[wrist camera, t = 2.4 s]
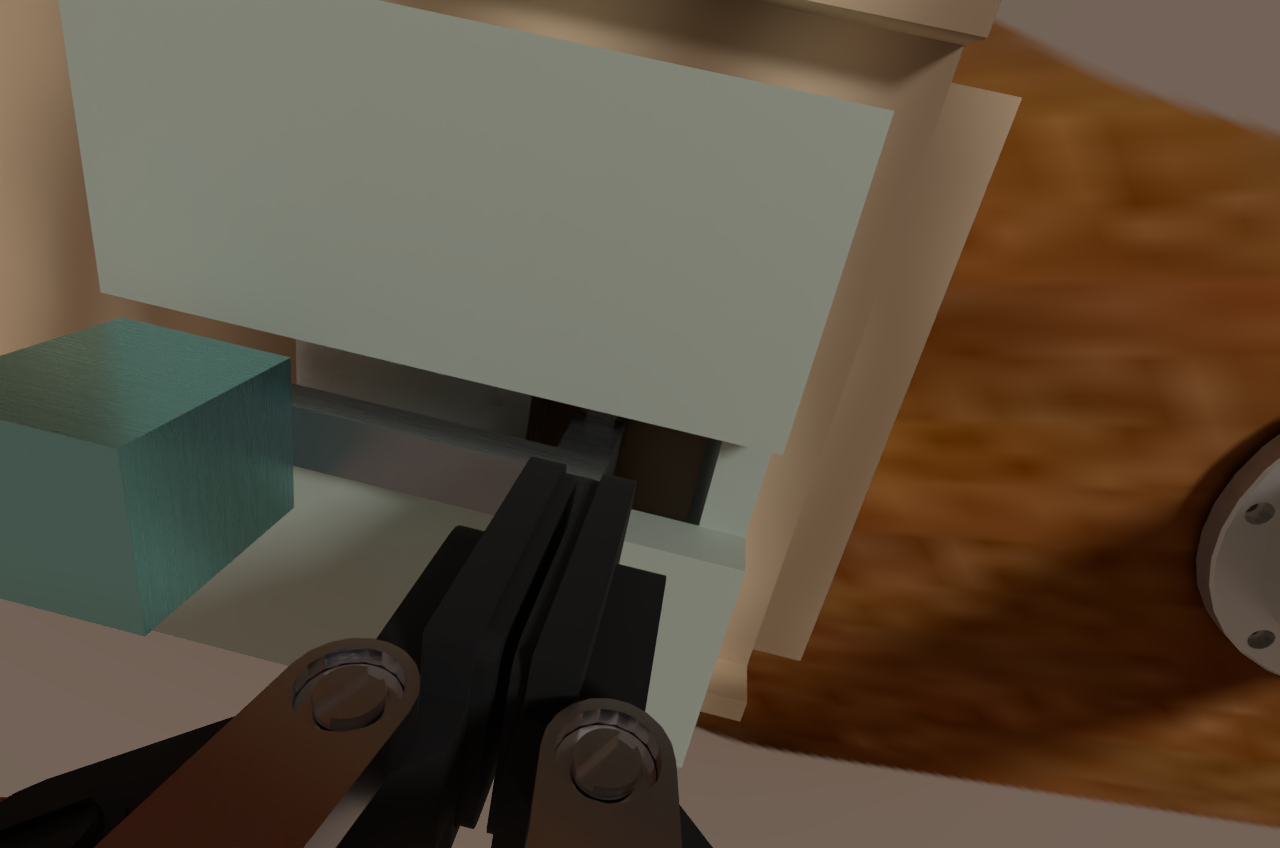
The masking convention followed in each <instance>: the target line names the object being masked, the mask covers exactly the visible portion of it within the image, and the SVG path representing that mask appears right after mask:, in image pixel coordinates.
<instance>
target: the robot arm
mask: <svg viewBox="0 0 1280 848" xmlns="http://www.w3.org/2000/svg"><path fill="white" fill-rule="evenodd" d="M566 468H567V467H566V464H562V463H558V462H554V461H550V460H545V459H541V458H537V457H530V459H529V460H528V462H527V463H526V465H525V467H524V468H523V470H522V471H521V473H520V475H519V476H518V478H517V480H516V481H515V483H514V484H513V486H512V488H511V489H510V491H509V492H508V494H507V496H506V497H505V499H504V501H503V502H502V504H501V505H500V507H499V509H498V510H497V512H496V514H495V515H494V517H493V518H492V520H491V522H490V523H489V525H488V526H487V528H486V530H485V531H482V530H478V529H474V528H470V527H466V526H461V525H458V526H456V527H455V528H454V529H453V530H452V531H451V532H450V534H449V535H448V537H447V538H446V539H445V541H444V542H443V544H442V545H441V547H440V548H439V549H438V551H437V552H436V554H435V555H434V557H433V558H432V559H431V561H430V562H429V564H428V565H427V567H426V568H425V569H424V571H423V572H422V574H421V575H420V577H419V578H418V580H417V581H416V582H415V584H414V585H413V587H412V588H411V590H410V591H409V592H408V594H407V595H406V597H405V598H404V600H403V601H402V602H401V604H400V605H399V607H398V608H397V610H396V611H395V612H394V614H393V615H392V617H391V618H390V620H389V621H388V622H387V624H386V625H385V627H384V628H383V630H382V631H381V633H380V634H379V635H378V637H377V638H376V639H373V638H348V639H343V640H338V641H333V642H329V643H326V644H324V645H322V646H319V647H317V648H315V649H312V650H310V651H308V652H307V653H306V654H304V655H303V656H301V657H300V658H299V659H297V660H296V661H294V662H293V663H292V664H291V665H290V666H289V667H287V668H286V669H285V670H284V671H283V672H282V673H281V674H280V675H279V676H278V677H277V678H276V679H275V680H273V681H272V682H271V683H270V684H269V685H268V686H267V687H266V688H265V689H264V690H263V691H262V692H261V693H260V694H259V695H257V696H256V697H255V698H254V699H253V700H252V701H251V702H250V703H249V704H248V705H247V706H246V707H244V708H243V709H242V710H241V711H240V712H239V713H238V714H237V715H236V716H234V717H231V718H228V719H225V720H222V721H219V722H216V723H213V724H210V725H207V726H204V727H201V728H198V729H195V730H192V731H189V732H186V733H183V734H181V735H178V736H174V737H171V738H168V739H165V740H162V741H159V742H157V743H154V744H151V745H148V746H145V747H142V748H139V749H136V750H133V751H130V752H127V753H124V754H121V755H118V756H115V757H112V758H109V759H106V760H103V761H100V762H97V763H94V764H92V765H88V766H85V767H82V768H79V769H76V770H74V771H70V772H67V773H64V774H61V775H58V776H55V777H52V778H49V779H46V780H44V781H42V782H39V783H37V784H35V785H32V786H30V787H28V788H25V789H23V790H21V791H19V792H16V793H14V794H12V795H11V796H9V797H0V848H451V847H452V844H453V842H454V839H455V837H456V834H457V832H458V829H459V827H460V826H464V827H467V828H471V829H474V828H475V826H476V824H477V822H478V819H479V817H480V814H481V811H482V809H483V806H484V803H485V801H486V798H487V795H488V793H489V790H490V787H491V785H492V782H493V779H494V785H493V792H492V798H491V805H490V811H489V817H488V824H487V833H490V834H493V839H492V846H491V848H713V847H712V846H711V845H710V844H709V842H708V841H707V840H706V838H705V837H704V836H703V835H702V833H701V832H700V831H699V829H698V828H697V827H696V826H695V824H694V823H693V822H692V821H691V819H690V818H689V816H688V815H687V814H686V813H685V811H684V810H683V809H682V807H681V806H680V805H679V795H678V780H677V766H676V759H675V754H674V750H673V746H672V743H671V741H670V739H669V738H668V736H667V734H666V733H665V731H664V729H663V728H662V726H661V725H660V724H659V723H658V722H656V721H655V720H654V719H653V718H652V717H651V716H650V715H649V714H648V713H646V712H645V710H646V704H647V697H648V691H649V685H650V679H651V672H652V666H653V660H654V654H655V647H656V641H657V635H658V628H659V622H660V616H661V610H662V603H663V597H664V591H665V585H666V575H662V574H657V573H653V572H649V571H645V570H641V569H637V568H633V567H629V566H625V565H621V564H619V562H620V557H621V553H622V548H623V544H624V539H625V535H626V531H627V526H628V522H629V517H630V513H631V508H632V504H633V499H634V495H635V490H636V486H637V481H633V480H629V479H625V478H620V477H616V476H612V475H608V474H603V475H602V477H601V480H600V482H597V481H593V480H589V479H587V481H586V483H585V486H584V488H583V490H582V493H581V495H580V498H579V500H578V502H577V505H576V507H575V509H574V512H573V514H572V516H571V513H572V508H573V502H574V497H575V491H576V485H577V476H572V475H568V474H566ZM1196 571H1197V586H1198V589H1199V592H1200V595H1201V598H1202V601H1203V603H1204V606H1205V609H1206V611H1207V612H1208V613H1209V615H1210V616H1211V618H1212V619H1213V621H1214V622H1215V624H1216V625H1217V627H1218V628H1219V630H1220V631H1221V632H1222V633H1223V634H1224V635H1225V636H1226V637H1227V638H1228V639H1229V640H1230V641H1231V642H1232V643H1233V645H1234V646H1235V647H1236V648H1237V649H1238V650H1239V651H1240V652H1241V653H1242V654H1244V655H1245V656H1247V657H1248V658H1250V659H1251V660H1252V661H1254V662H1255V663H1257V664H1258V665H1260V666H1261V667H1263V668H1264V669H1265V670H1267V671H1270V672H1272V673H1274V674H1277V675H1279V676H1280V434H1279V435H1278V436H1276V437H1275V438H1273V439H1272V440H1271V441H1269V442H1268V443H1267V444H1265V445H1264V446H1263V447H1262V448H1261V449H1260V450H1259V451H1258V452H1257V453H1256V454H1255V455H1254V456H1253V457H1252V458H1251V459H1250V460H1249V461H1248V462H1247V463H1246V464H1245V465H1244V466H1243V467H1242V468H1241V469H1240V470H1239V471H1238V472H1237V473H1236V474H1235V475H1234V476H1233V478H1232V479H1231V481H1230V482H1229V483H1228V485H1227V486H1226V487H1225V489H1224V490H1223V492H1222V493H1221V494H1220V496H1219V497H1218V499H1217V500H1216V501H1215V503H1214V505H1213V507H1212V510H1211V512H1210V514H1209V516H1208V518H1207V521H1206V523H1205V525H1204V527H1203V529H1202V532H1201V537H1200V542H1199V546H1198V551H1197V556H1196ZM494 776H495V778H494Z"/></svg>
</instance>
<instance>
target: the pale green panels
mask: <svg viewBox="0 0 1280 848" xmlns="http://www.w3.org/2000/svg"><path fill="white" fill-rule="evenodd" d="M58 1H59V8H60V15H61V22H62V29H63V36H64V43H65V50H66V57H67V64H68V70H69V77H70V84H71V91H72V98H73V105H74V112H75V119H76V126H77V133H78V140H79V147H80V153H81V160H82V167H83V174H84V181H85V188H86V195H87V202H88V209H89V216H90V223H91V230H92V236H93V243H94V250H95V257H96V264H97V271H98V278H99V285H100V292H101V293H105V294H109V295H114V296H118V297H122V298H126V299H130V300H135V301H139V302H143V303H147V304H151V305H156V306H160V307H164V308H168V309H172V310H176V311H181V312H185V313H189V314H193V315H197V316H202V317H206V318H210V319H214V320H218V321H222V322H227V323H231V324H235V325H239V326H243V327H248V328H252V329H256V330H260V331H264V332H269V333H273V334H277V335H281V336H285V337H289V338H294V339H298V340H302V341H306V342H310V343H315V344H319V345H323V346H327V347H331V348H336V349H340V350H344V351H348V352H352V353H356V354H361V355H365V356H369V357H373V358H377V359H382V360H386V361H390V362H394V363H398V364H402V365H407V366H411V367H415V368H419V369H423V370H428V371H432V372H436V373H440V374H444V375H449V376H453V377H457V378H461V379H465V380H469V381H474V382H478V383H482V384H486V385H490V386H495V387H499V388H503V389H507V390H511V391H516V392H520V393H524V394H528V395H532V396H536V397H541V398H545V399H549V400H553V401H557V402H562V403H566V404H570V405H574V406H578V407H582V408H587V409H591V410H595V411H599V412H603V413H608V414H612V415H616V416H620V417H624V418H629V419H633V420H637V421H641V422H645V423H649V424H654V425H658V426H662V427H666V428H670V429H675V430H679V431H683V432H687V433H691V434H696V435H700V436H704V437H708V442H707V446H706V450H705V453H704V457H703V461H702V465H701V468H700V472H699V476H698V480H697V483H696V487H695V491H694V494H693V498H692V502H691V506H690V509H689V513H688V517H687V521H686V523H685V522H681V521H677V520H673V519H669V518H665V517H661V516H657V515H653V514H649V513H645V512H640V511H636V510H632V509H631V513H630V517H629V522H628V526H627V531H626V535H625V539H624V544H623V548H622V553H621V557H620V562H619V564H621V565H625V566H629V567H633V568H637V569H641V570H645V571H649V572H653V573H657V574H662V575H666V585H665V591H664V597H663V603H662V610H661V616H660V622H659V628H658V635H657V641H656V647H655V654H654V660H653V666H652V672H651V679H650V685H649V691H648V697H647V704H646V710H645V712H646V713H648V714H649V715H650V716H651V717H652V718H653V719H654V720H655V721H656V722H658V723H659V724H660V725H661V726H662V728H663V729H664V731H665V733H666V734H667V736H668V738H669V739H670V741H671V743H672V746H673V750H674V754H675V759H676V766H677V767H678V768H682V766H683V763H684V760H685V757H686V754H687V750H688V747H689V744H690V741H691V738H692V735H693V732H694V729H695V726H696V723H697V720H698V716H699V713H700V710H701V707H702V704H703V701H704V698H705V695H706V692H707V689H708V686H709V682H710V679H711V676H712V673H713V670H714V667H715V664H716V661H717V658H718V655H719V652H720V648H721V645H722V642H723V639H724V636H725V633H726V630H727V627H728V624H729V621H730V618H731V614H732V611H733V608H734V605H735V602H736V599H737V596H738V593H739V590H740V587H741V584H742V580H743V577H744V574H745V537H746V534H747V531H748V527H749V524H750V521H751V518H752V515H753V512H754V508H755V505H756V502H757V499H758V496H759V493H760V489H761V486H762V483H763V480H764V477H765V473H766V470H767V467H768V464H769V461H770V458H771V454H772V453H775V454H779V455H783V454H784V451H785V448H786V444H787V441H788V438H789V435H790V432H791V429H792V426H793V423H794V420H795V417H796V414H797V411H798V407H799V404H800V401H801V398H802V395H803V392H804V389H805V386H806V383H807V380H808V377H809V373H810V370H811V367H812V364H813V361H814V358H815V355H816V352H817V349H818V346H819V343H820V339H821V336H822V333H823V330H824V327H825V324H826V321H827V318H828V315H829V312H830V309H831V305H832V302H833V299H834V296H835V293H836V290H837V287H838V284H839V281H840V278H841V275H842V271H843V268H844V265H845V262H846V259H847V256H848V253H849V250H850V247H851V244H852V241H853V237H854V234H855V231H856V228H857V225H858V222H859V219H860V216H861V213H862V210H863V207H864V203H865V200H866V197H867V194H868V191H869V188H870V185H871V182H872V179H873V176H874V173H875V169H876V166H877V163H878V160H879V157H880V154H881V151H882V148H883V145H884V142H885V139H886V135H887V132H888V129H889V126H890V123H891V120H892V117H893V114H894V111H893V110H888V109H883V108H879V107H874V106H869V105H865V104H860V103H855V102H851V101H846V100H841V99H837V98H832V97H827V96H823V95H818V94H813V93H809V92H804V91H799V90H795V89H790V88H785V87H781V86H776V85H771V84H767V83H762V82H757V81H753V80H748V79H743V78H739V77H734V76H729V75H725V74H720V73H715V72H711V71H706V70H701V69H697V68H692V67H687V66H683V65H678V64H673V63H669V62H664V61H659V60H655V59H650V58H645V57H641V56H636V55H631V54H627V53H622V52H617V51H613V50H608V49H603V48H599V47H594V46H589V45H585V44H580V43H576V42H571V41H566V40H562V39H557V38H552V37H548V36H543V35H538V34H534V33H529V32H524V31H520V30H515V29H510V28H506V27H501V26H496V25H492V24H487V23H482V22H478V21H473V20H468V19H464V18H459V17H454V16H450V15H445V14H440V13H436V12H431V11H426V10H422V9H417V8H412V7H408V6H403V5H398V4H394V3H389V2H384V1H380V0H58ZM293 482H294V508H293V509H292V510H291V511H290V512H288V513H287V514H286V515H285V516H284V517H283V518H281V519H280V520H279V521H278V522H277V523H276V524H274V525H273V526H272V527H271V528H270V529H269V530H267V531H266V532H265V533H264V534H263V535H262V536H261V537H259V538H258V539H257V540H256V541H255V542H254V543H252V544H251V545H250V546H249V547H248V548H247V549H245V550H244V551H243V552H242V553H241V554H240V555H239V556H237V557H236V558H235V559H234V560H233V561H232V562H230V563H229V564H228V565H227V566H226V567H225V568H223V569H222V570H221V571H220V572H219V573H218V574H217V575H215V576H214V577H213V578H212V579H211V580H210V581H208V582H207V583H206V584H205V585H204V586H203V587H201V588H200V589H199V590H198V591H197V592H196V593H194V594H193V595H192V596H191V597H190V598H189V599H188V600H186V601H185V602H184V603H183V604H182V605H181V606H179V607H178V608H177V609H176V610H175V611H174V612H172V613H171V614H170V615H169V616H168V617H167V618H166V619H164V620H163V621H162V622H161V623H160V624H159V625H157V626H156V627H155V628H154V629H153V631H157V632H161V633H165V634H168V635H172V636H176V637H180V638H184V639H187V640H191V641H195V642H199V643H203V644H207V645H210V646H215V647H218V648H222V649H226V650H230V651H234V652H238V653H241V654H245V655H249V656H253V657H257V658H260V659H264V660H268V661H272V662H275V663H280V664H283V665H287V666H290V665H291V664H292V663H293V662H294V661H296V660H297V659H299V658H300V657H301V656H303V655H304V654H306V653H307V652H308V651H310V650H312V649H315V648H317V647H319V646H322V645H324V644H326V643H329V642H333V641H338V640H343V639H348V638H373V639H376V638H377V637H378V635H379V634H380V633H381V631H382V630H383V628H384V627H385V625H386V624H387V622H388V621H389V620H390V618H391V617H392V615H393V614H394V612H395V611H396V610H397V608H398V607H399V605H400V604H401V602H402V601H403V600H404V598H405V597H406V595H407V594H408V592H409V591H410V590H411V588H412V587H413V585H414V584H415V582H416V581H417V580H418V578H419V577H420V575H421V574H422V572H423V571H424V569H425V568H426V567H427V565H428V564H429V562H430V561H431V559H432V558H433V557H434V555H435V554H436V552H437V551H438V549H439V548H440V547H441V545H442V544H443V542H444V541H445V539H446V538H447V537H448V535H449V534H450V532H451V531H452V530H453V529H454V528H455V527H456V526H458V525H461V526H466V527H470V528H474V529H478V530H482V531H485V530H486V528H487V526H488V525H489V523H490V522H491V520H492V518H493V517H494V515H490V514H486V513H482V512H478V511H474V510H470V509H466V508H462V507H458V506H454V505H450V504H446V503H441V502H437V501H433V500H429V499H425V498H421V497H417V496H413V495H409V494H405V493H401V492H397V491H393V490H389V489H385V488H381V487H377V486H373V485H369V484H365V483H361V482H357V481H353V480H349V479H345V478H341V477H336V476H332V475H328V474H324V473H320V472H316V471H312V470H308V469H304V468H300V467H296V466H293Z"/></svg>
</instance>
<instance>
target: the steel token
mask: <svg viewBox="0 0 1280 848" xmlns="http://www.w3.org/2000/svg"><path fill="white" fill-rule="evenodd" d="M296 377H297V384H298V385H302V386H306V387H310V388H314V389H318V390H322V391H326V392H331V393H335V394H339V395H343V396H347V397H351V398H355V399H360V400H364V401H368V402H372V403H376V404H380V405H384V406H388V407H393V408H397V409H401V410H405V411H409V412H413V413H417V414H422V415H426V416H430V417H434V418H438V419H442V420H446V421H450V422H455V423H459V424H463V425H467V426H471V427H475V428H479V429H484V430H488V431H492V432H496V433H500V434H504V435H508V436H512V437H517V438H521V439H525V440H529V441H533V442H537V443H541V442H542V436H543V429H544V423H545V416H546V409H547V403H548V399H545V398H541V397H536V396H532V395H528V394H524V393H520V392H516V391H511V390H507V389H503V388H499V387H495V386H490V385H486V384H482V383H478V382H474V381H469V380H465V379H461V378H457V377H453V376H449V375H444V374H440V373H436V372H432V371H428V370H423V369H419V368H415V367H411V366H407V365H402V364H398V363H394V362H390V361H386V360H382V359H377V358H373V357H369V356H365V355H361V354H356V353H352V352H348V351H344V350H340V349H336V348H331V347H327V346H323V345H319V344H315V343H310V342H306V341H302V340H298V339H296Z"/></svg>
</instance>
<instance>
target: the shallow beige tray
mask: <svg viewBox="0 0 1280 848" xmlns="http://www.w3.org/2000/svg"><path fill="white" fill-rule="evenodd" d="M380 1H384V2H389V3H394V4H398V5H403V6H408V7H412V8H417V9H422V10H426V11H431V12H436V13H440V14H445V15H450V16H454V17H459V18H464V19H468V20H473V21H478V22H482V23H487V24H492V25H496V26H501V27H506V28H510V29H515V30H520V31H524V32H529V33H534V34H538V35H543V36H548V37H552V38H557V39H562V40H566V41H571V42H576V43H580V44H585V45H589V46H594V47H599V48H603V49H608V50H613V51H617V52H622V53H627V54H631V55H636V56H641V57H645V58H650V59H655V60H659V61H664V62H669V63H673V64H678V65H683V66H687V67H692V68H697V69H701V70H706V71H711V72H715V73H720V74H725V75H729V76H734V77H739V78H743V79H748V80H753V81H757V82H762V83H767V84H771V85H776V86H781V87H785V88H790V89H795V90H799V91H804V92H809V93H813V94H818V95H823V96H827V97H832V98H837V99H841V100H846V101H851V102H855V103H860V104H865V105H869V106H874V107H879V108H883V109H888V110H893V111H894V114H893V117H892V120H891V123H890V126H889V129H888V132H887V135H886V139H885V142H884V145H883V148H882V151H881V154H880V157H879V160H878V163H877V166H876V169H875V173H874V176H873V179H872V182H871V185H870V188H869V191H868V194H867V197H866V200H865V203H864V207H863V210H862V213H861V216H860V219H859V222H858V225H857V228H856V231H855V234H854V237H853V241H852V244H851V247H850V250H849V253H848V256H847V259H846V262H845V265H844V268H843V271H842V275H841V278H840V281H839V284H838V287H837V290H836V293H835V296H834V299H833V302H832V305H831V309H830V312H829V315H828V318H827V321H826V324H825V327H824V330H823V333H822V336H821V339H820V343H819V346H818V349H817V352H816V355H815V358H814V361H813V364H812V367H811V370H810V373H809V377H808V380H807V383H806V386H805V389H804V392H803V395H802V398H801V401H800V404H799V407H798V411H797V414H796V417H795V420H794V423H793V426H792V429H791V432H790V435H789V438H788V441H787V444H786V448H785V451H784V454H783V455H779V454H775V453H772V454H771V458H770V461H769V464H768V467H767V470H766V473H765V477H764V480H763V483H762V486H761V489H760V493H759V496H758V499H757V502H756V505H755V508H754V512H753V515H752V518H751V521H750V524H749V527H748V531H747V534H746V537H745V574H744V577H743V580H742V584H741V587H740V590H739V593H738V596H737V599H736V602H735V605H734V608H733V611H732V614H731V618H730V621H729V624H728V627H727V630H726V633H725V636H724V639H723V642H722V645H721V648H720V652H719V655H718V658H717V661H716V664H715V667H714V670H713V673H712V676H711V679H710V682H709V686H708V689H707V692H706V695H705V698H704V701H703V704H702V707H701V710H700V711H701V712H704V713H708V714H712V715H716V716H720V717H724V718H728V719H732V720H736V721H739V722H740V721H741V718H742V715H743V713H744V710H745V707H746V704H747V664H748V661H749V659H750V656H751V653H752V650H753V649H754V650H758V651H762V652H766V653H770V654H774V655H778V656H782V657H786V658H790V659H794V660H798V661H801V658H802V656H803V653H804V651H805V648H806V646H807V643H808V641H809V638H810V635H811V633H812V630H813V628H814V625H815V623H816V620H817V618H818V615H819V613H820V610H821V608H822V605H823V602H824V600H825V597H826V595H827V592H828V590H829V587H830V585H831V582H832V580H833V577H834V574H835V572H836V569H837V567H838V564H839V562H840V559H841V557H842V554H843V552H844V549H845V547H846V544H847V541H848V539H849V536H850V534H851V531H852V529H853V526H854V524H855V521H856V519H857V516H858V513H859V511H860V508H861V506H862V503H863V501H864V498H865V496H866V493H867V491H868V488H869V486H870V483H871V480H872V478H873V475H874V473H875V470H876V468H877V465H878V463H879V460H880V458H881V455H882V452H883V450H884V447H885V445H886V442H887V440H888V437H889V435H890V432H891V430H892V427H893V425H894V422H895V419H896V417H897V414H898V412H899V409H900V407H901V404H902V402H903V399H904V397H905V394H906V391H907V389H908V386H909V384H910V381H911V379H912V376H913V374H914V371H915V369H916V366H917V364H918V361H919V358H920V356H921V353H922V351H923V348H924V346H925V343H926V341H927V338H928V336H929V333H930V331H931V328H932V325H933V323H934V320H935V318H936V315H937V313H938V310H939V308H940V305H941V303H942V300H943V297H944V295H945V292H946V290H947V287H948V285H949V282H950V280H951V277H952V275H953V272H954V270H955V267H956V264H957V262H958V259H959V257H960V254H961V252H962V249H963V247H964V244H965V242H966V239H967V236H968V234H969V231H970V229H971V226H972V224H973V221H974V219H975V216H976V214H977V211H978V209H979V206H980V203H981V201H982V198H983V196H984V193H985V191H986V188H987V186H988V183H989V181H990V178H991V175H992V173H993V170H994V168H995V165H996V163H997V160H998V158H999V155H1000V153H1001V150H1002V148H1003V145H1004V142H1005V140H1006V137H1007V135H1008V132H1009V130H1010V127H1011V125H1012V122H1013V120H1014V117H1015V114H1016V112H1017V109H1018V107H1019V104H1020V102H1021V99H1022V98H1021V97H1016V96H1012V95H1007V94H1002V93H998V92H993V91H988V90H983V89H979V88H974V87H969V86H964V85H960V84H955V83H951V82H952V79H953V76H954V73H955V71H956V68H957V65H958V62H959V59H960V56H961V53H962V51H963V48H964V46H965V45H968V44H971V43H974V42H977V41H980V40H983V39H986V38H988V35H989V32H990V30H991V27H992V24H993V21H994V19H995V16H996V13H997V10H998V7H999V4H1000V2H1001V0H380ZM120 317H124V318H128V319H132V320H136V321H140V322H144V323H149V324H153V325H157V326H161V327H165V328H169V329H174V330H178V331H182V332H186V333H190V334H194V335H199V336H203V337H207V338H211V339H215V340H219V341H224V342H228V343H232V344H236V345H240V346H244V347H249V348H253V349H257V350H261V351H265V352H269V353H273V354H278V355H282V356H286V357H290V361H291V383H293V384H297V377H296V339H294V338H289V337H285V336H281V335H277V334H273V333H269V332H264V331H260V330H256V329H252V328H248V327H243V326H239V325H235V324H231V323H227V322H222V321H218V320H214V319H210V318H206V317H202V316H197V315H193V314H189V313H185V312H181V311H176V310H172V309H168V308H164V307H160V306H156V305H151V304H147V303H143V302H139V301H135V300H130V299H126V298H122V297H118V296H114V295H109V294H105V293H101V292H100V285H99V278H98V271H97V264H96V257H95V250H94V243H93V236H92V230H91V223H90V216H89V209H88V202H87V195H86V188H85V181H84V174H83V167H82V160H81V153H80V147H79V140H78V133H77V126H76V119H75V112H74V105H73V98H72V91H71V84H70V77H69V70H68V64H67V57H66V50H65V43H64V36H63V29H62V22H61V15H60V8H59V1H58V0H0V356H1V355H4V354H7V353H11V352H14V351H17V350H20V349H23V348H26V347H29V346H33V345H36V344H39V343H42V342H45V341H48V340H51V339H55V338H58V337H61V336H64V335H67V334H70V333H73V332H76V331H80V330H83V329H86V328H89V327H92V326H95V325H98V324H102V323H105V322H108V321H111V320H114V319H117V318H120ZM577 411H579V412H583V413H587V411H588V409H587V408H582V407H578V406H574V405H570V404H566V403H562V402H557V401H553V400H549V399H548V403H547V409H546V416H545V423H544V429H543V436H542V442H541V444H546V445H550V446H554V447H557V446H558V445H559V443H560V441H561V439H562V438H563V436H564V434H565V432H566V431H567V429H568V427H569V425H570V424H571V422H572V420H573V418H574V417H575V415H576V413H577ZM707 442H708V437H704V436H700V435H696V434H691V433H687V432H683V431H679V430H675V429H670V428H666V427H662V426H658V425H654V424H649V423H645V422H641V421H637V420H633V419H629V421H628V426H627V430H626V435H625V440H624V445H623V450H622V454H621V459H620V464H619V469H618V474H617V477H620V478H625V479H629V480H633V481H637V486H636V490H635V495H634V499H633V504H632V508H631V509H632V510H636V511H640V512H645V513H649V514H653V515H657V516H661V517H665V518H669V519H673V520H677V521H681V522H685V523H686V521H687V517H688V513H689V509H690V506H691V502H692V498H693V494H694V491H695V487H696V483H697V480H698V476H699V472H700V468H701V465H702V461H703V457H704V453H705V450H706V446H707Z"/></svg>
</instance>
